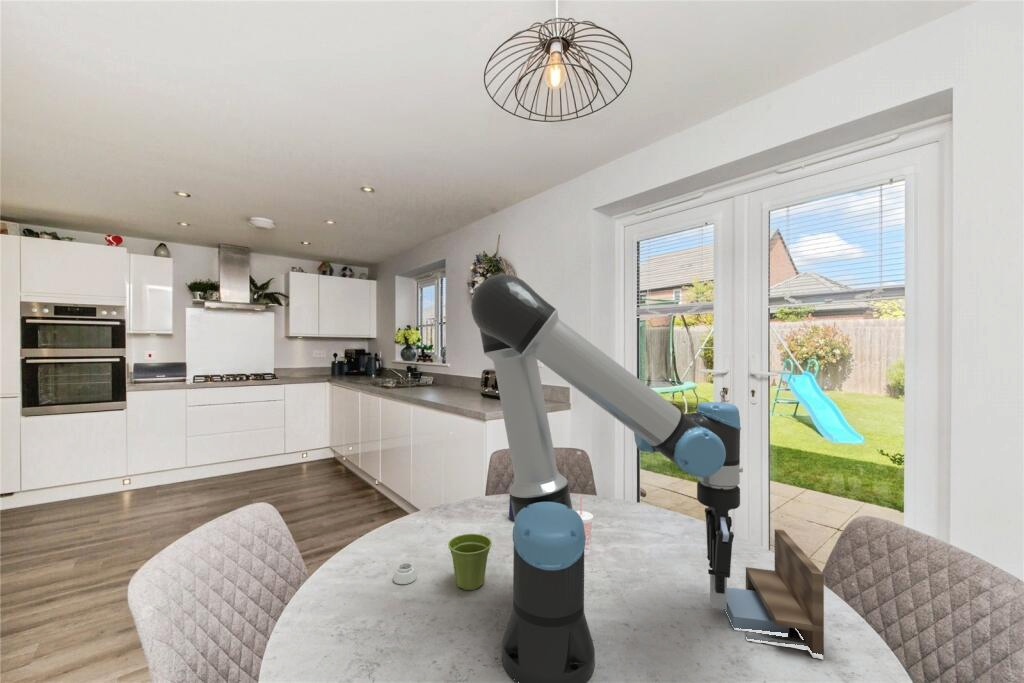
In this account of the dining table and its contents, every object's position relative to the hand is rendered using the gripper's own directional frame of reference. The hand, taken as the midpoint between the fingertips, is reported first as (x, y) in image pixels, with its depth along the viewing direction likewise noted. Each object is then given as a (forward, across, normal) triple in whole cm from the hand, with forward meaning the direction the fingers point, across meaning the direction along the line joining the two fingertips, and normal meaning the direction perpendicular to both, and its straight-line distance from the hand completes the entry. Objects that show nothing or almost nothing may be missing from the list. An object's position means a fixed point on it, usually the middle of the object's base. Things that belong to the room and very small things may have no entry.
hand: (718, 606), depth 83 cm
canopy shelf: (+2, 0, -9) cm, 9 cm away
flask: (+2, +33, +46) cm, 56 cm away
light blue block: (+2, +1, -6) cm, 6 cm away
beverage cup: (+2, +19, +28) cm, 34 cm away
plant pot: (+2, -2, +50) cm, 50 cm away
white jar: (+2, -4, +64) cm, 64 cm away
